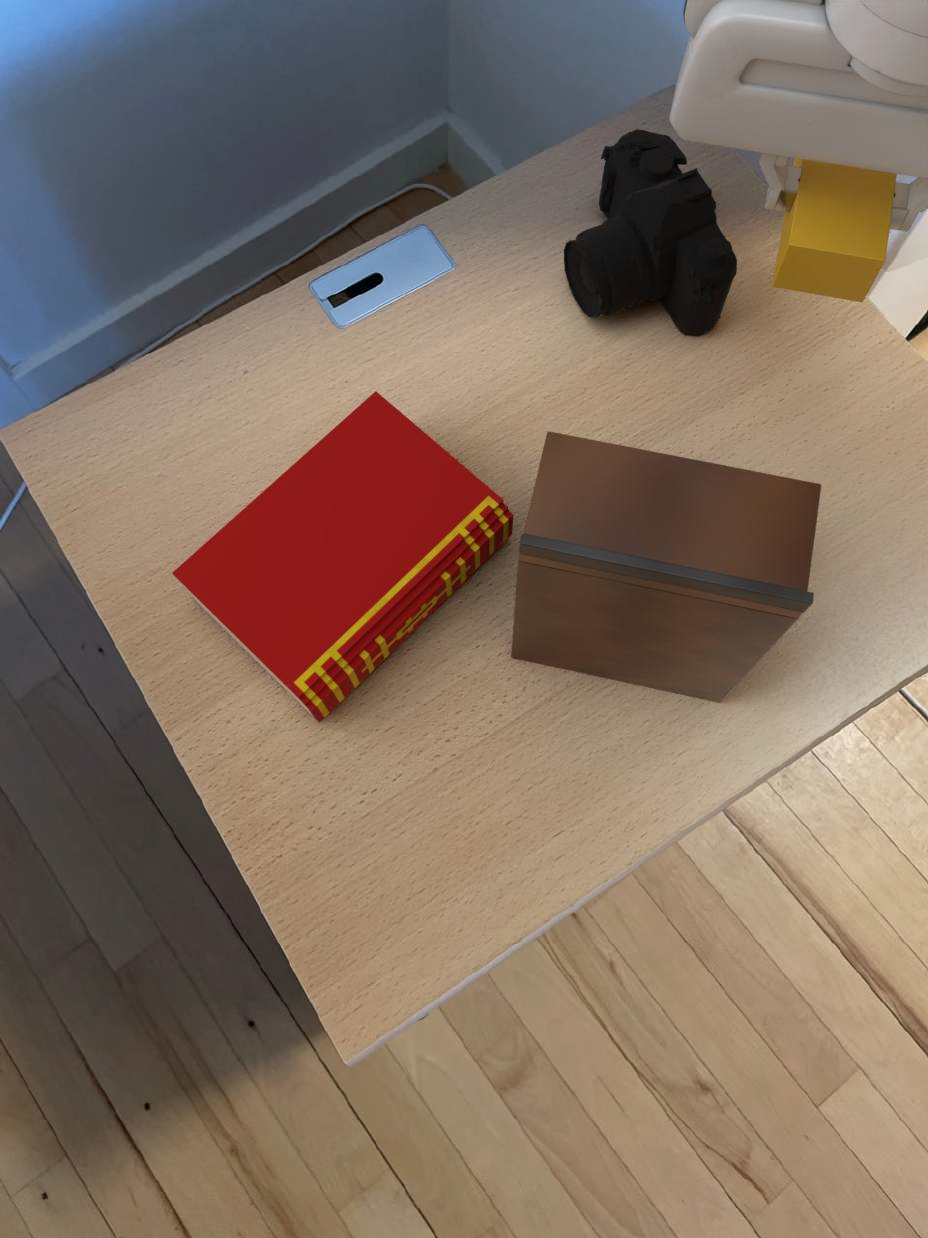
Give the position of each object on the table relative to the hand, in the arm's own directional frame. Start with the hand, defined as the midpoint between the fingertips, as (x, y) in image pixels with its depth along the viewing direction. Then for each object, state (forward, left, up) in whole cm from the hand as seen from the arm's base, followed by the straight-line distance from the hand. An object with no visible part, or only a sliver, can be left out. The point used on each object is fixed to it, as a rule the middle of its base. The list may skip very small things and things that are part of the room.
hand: (836, 211), depth 54 cm
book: (+25, +20, -18) cm, 37 cm away
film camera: (+10, -8, -18) cm, 22 cm away
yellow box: (0, 0, -2) cm, 2 cm away
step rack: (+6, +17, -18) cm, 26 cm away
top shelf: (+6, +20, -1) cm, 21 cm away
